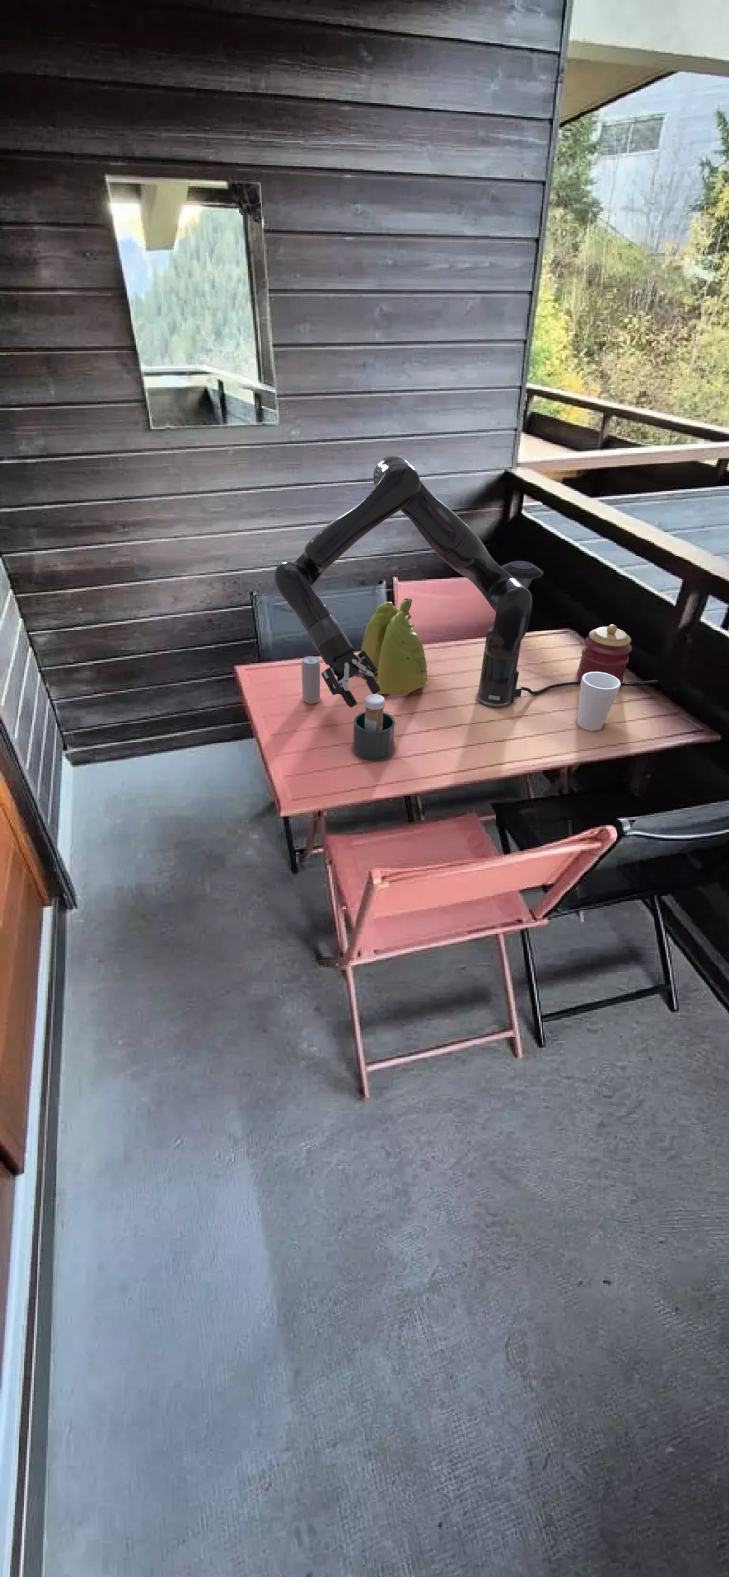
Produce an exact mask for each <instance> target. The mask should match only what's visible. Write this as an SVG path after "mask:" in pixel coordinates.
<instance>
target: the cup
mask: <svg viewBox="0 0 729 1577" xmlns="http://www.w3.org/2000/svg"><path fill="white" fill-rule="evenodd" d="M395 734H396V720H395V717H393V716H392V715H391V714H389V713H386V712H384V711H383V731H369V730H365V711H364V712H360V713H358V714H357V715H355V716H354V719H353V733H352V748H353V753H354V754H355V756H357V757H359V758H360V759H363V760H366V761H373V762H377V761H383V760H387V759H389V758H390V757H391V756H392V755H393V753H394V749H395V738H396V735H395Z"/></svg>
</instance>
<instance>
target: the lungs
mask: <svg viewBox="0 0 729 1577" xmlns="http://www.w3.org/2000/svg"><path fill="white" fill-rule="evenodd" d="M412 603H413V599H412V598H411V597H410V598H409V597H405V598H404V599H403V600H402V601H401V603H400V605H399V609H397V607H396V606H395V605H394V604H393V602H392V601H385V602H384V603H382V604H380V605H378V606H377V608H376V609H375V612H374V614H372V615H371V617H370V620H369V621H368V623H367V625H366V627H365V630H364V634H363V638H362V643H361V644H362V645H361V647H360V652H361V651H365V652H366V654H367V655H368V657H369V658H370V660H371V661H372V663H373V664H374V666H375V667H376V669H377V671H376V672H375V673H374V675H376V674H377V681H376V682H377V684H378V685H379V688H380V691H379V692H378V693H377V694H378V695H381V696H382V695H391V694H403V693H408V692H412V691H416V690H418V689H420V688H422V687H426V685H427V682H428V669H427V668H428V664H427V659H426V653H425V650H424V645H423V642H422V639H421V637H420V636H419V635H418V634H417V633H416V632H415V630H414V628H413V627H414V626H415V624H412V623H411V621H410V620H411V619H412V614H411V613H410V610H411V608H412ZM368 667H369V665H368ZM369 669H370V670H371V668H370V667H369Z"/></svg>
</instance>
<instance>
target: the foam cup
mask: <svg viewBox="0 0 729 1577" xmlns="http://www.w3.org/2000/svg"><path fill="white" fill-rule="evenodd" d="M579 686H580V689H579V690H580V691H579V702H578V713H577V725H578V727H580V728H581V729H583V730H585V731H591V732H593V731H594V732H595V731H600V730H601V729H602V728H603V726H604V724H605V721H606V720H607V718H608V715H609V712H610V710H611V708H612V706H613V703H614V702H615V699H616V697H617V695H618V693H619V691H620V688H621V683H620V681H619V679H617V678H616V677H615V676H613V675H610V674H607V673H603V672H589V673H586V674H584V675H583V677H582V680H581V684H580V685H579Z"/></svg>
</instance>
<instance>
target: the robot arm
mask: <svg viewBox="0 0 729 1577" xmlns="http://www.w3.org/2000/svg"><path fill="white" fill-rule="evenodd" d="M372 478H373V479H372V480H373V485H374V486H373V487H374V488H373V489H372V490H371V492H370V493H369V494H368V495H367V496H366V497H365V498H364V499H363V500H362V501H361V502H360V503H359V504H357V505H356V506H354V507H353V508H352V509H350V510H349V511H347V512H345V513H343V514H342V515H340V516H338V517H336V518H335V519H333V520H331V522H329V523H328V524H327V525H326V526H324V527H323V528H322V529H321V530H320V531H318V533H317V534H315V536H314V537H312V538H311V539H310V540H309V541H308V542H307V543H306V545H305V546H304V550H303V553H301V555H300V556H298V558H297V559H295V561H284V562H282V563H280V564H278V565H277V567H276V568H275V570H274V574H273V580H274V584H275V586H276V588H277V590H278V592H279V593H280V595H281V596H282V597H283V598H284V600H285V602H286V603H287V604H288V605H289V607H291V609H292V610H293V611H294V612H295V614H296V615H297V617H298V620H299V621H300V622H301V624H302V626H303V627H304V629H305V631H306V632H307V634H308V636H309V639H310V641H311V643H312V644H313V646H314V647H315V649H316V651H317V652H318V654H319V655H320V657H321V659H322V661H323V663H324V664H325V665H326V666H329V667H327V668H325V669H324V670H323V671H322V672H320V676H322V678H323V680H324V682H325V685H326V686H327V687H328V690H329V691H330V693H331V695H332V696H336V695H340V696H341V698H342V699H343V701H344V702H345V703H346V705H347V706H348V707H349V708H351V709H352V708H353V707H356V706H357V705H358V702H357V699H356V698H355V696H354V695H353V693H352V692H351V690H350V689H349V681H350V679H351V678H354V677H356V678H361V679H362V680H364V681H365V683H366V685H367V687H368V689H369V690H370V692H371V693H372V694H379V693H378V692H379V691H380V688H379V685H378V684H377V682H378V681H377V680H376V679H375V677H374V675H375V674H374V673H375V672H376V671H377V669H376V667H375V666H374V664H373V663H372V661H371V660H370V658H369V657H368V655H367V654H366V652H365V651H361V650H360V652H359V653H357V654H355V653H354V651H353V650H354V647H353V645H352V643H351V641H350V640H349V638H348V637H347V635H346V633H345V632H344V630H343V628H342V626H341V625H340V624H339V621H338V620H336V618H335V616H334V615H333V614H332V612H331V610H330V609H329V607H328V606H327V604H326V602H325V601H324V600H323V598H322V597H321V596H319V595H318V594H317V593H316V592H315V590H314V589H313V587H312V586H313V585H314V584H316V582H317V581H318V580H319V578H320V577H321V576H322V574H324V572H325V571H326V570H327V569H328V568H329V567H330V566H331V565H333V564H334V563H335V562H336V561H337V560H338V559H339V558H340V557H341V556H343V554H345V553H346V552H347V551H348V550H349V549H350V548H351V547H352V546H353V545H354V544H356V543H357V542H358V541H359V540H360V539H362V538H363V537H364V536H365V535H366V534H369V532H371V531H372V530H373V529H375V528H376V527H378V526H379V525H380V524H382V523H383V522H385V521H386V520H387V519H389V518H391V517H392V516H393V515H395V514H397V513H398V512H400V511H401V512H402V513H403V514H404V515H405V516H406V517H407V518H408V519H409V520H410V521H411V523H413V525H414V527H416V530H418V532H419V533H420V535H421V536H422V537H423V538H424V540H425V541H426V543H428V545H429V546H430V547H431V548H432V549H433V551H434V552H435V553H436V554H437V555H438V556H439V557H440V558H441V559H442V560H443V562H445V563H446V564H447V565H448V566H449V567H451V568H452V569H453V570H454V571H455V572H457V573H458V574H460V575H461V576H463V577H464V578H466V579H467V580H468V581H470V582H471V583H472V584H473V585H474V586H475V587H476V588H477V589H478V591H479V592H480V593H481V595H482V596H483V597H484V598H485V600H486V601H487V602H488V604H489V606H490V607H491V609H492V610H493V611H494V612H495V616H494V621H493V626H491V627H489V628H488V629H487V631H486V637H485V643H484V648H483V655H482V656H483V657H482V663H481V671H480V676H479V677H480V678H479V683H478V689H477V693H476V694H477V695H476V699H477V701H478V703H480V704H482V705H484V706H487V707H491V708H504V707H507V706H510V705H511V704H514V703H515V698H520V697H522V691H524V692H528V694H530V695H534V696H535V695H540V694H542V693H544V692H546V691H548V690H551V689H555V688H559V687H560V688H561V687H567V686H578V685H579V686H580V684H581V682H580V681H577V680H576V681H567V682H559V683H554V684H550V685H548V686H545V687H543V688H541V689H539V690H532V689H531V688H529V687H526V686H521V685H520V684H519V683H518V681H519V676H520V671H519V670H518V663H519V658H520V652H521V647H522V642H523V639H524V638H525V636H526V634H527V630H528V626H529V623H530V619H531V615H532V614H531V613H532V609H533V596H532V593H531V591H530V590H529V589H528V588H526V587H525V586H524V585H523V584H522V583H521V582H519V581H518V580H517V579H516V578H514V577H513V576H511V575H510V574H509V573H508V572H506V571H505V570H504V569H503V568H502V567H501V565H499V564H498V562H496V561H495V560H494V558H493V557H492V556H491V555H490V553H489V551H488V549H487V548H486V546H485V545H484V543H483V541H482V540H481V539H480V538H479V537H478V535H477V534H476V533H475V532H474V531H473V530H472V528H470V527H469V525H468V524H467V523H466V522H465V521H463V520H462V518H461V517H459V516H458V515H457V514H456V513H455V512H454V511H453V510H452V509H450V508H449V507H448V506H447V505H445V504H444V503H443V502H442V501H440V500H439V499H438V498H437V497H436V496H435V495H433V493H432V492H431V491H430V490H429V489H428V488H427V487H426V486H425V483H423V481H422V480H421V478H420V476H419V473H418V471H417V470H416V469H415V467H414V466H413V465H411V464H410V463H409V461H408V460H406V459H404V458H403V457H400V456H394V455H393V456H391V455H390V456H385V457H384V458H382V459H381V460H379V461H378V462H377V463H376V465H375V467H374V470H373V475H372ZM368 665H369V667H370V668H371V670H370V669H369V667H368ZM644 682H645V683H644V684H645V685H643V684H642V683H633V684H625V683H622V684H621V685H620V687H622V686H625V687H626V686H627V687H628V686H629V687H632V686H633V687H634V686H646V685H654V684H655V685H656V684H658V683H659V681H658V680H657V679H656V680H655V679H654V680H645V681H644Z"/></svg>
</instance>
